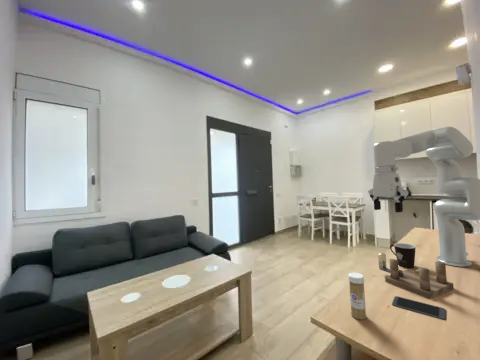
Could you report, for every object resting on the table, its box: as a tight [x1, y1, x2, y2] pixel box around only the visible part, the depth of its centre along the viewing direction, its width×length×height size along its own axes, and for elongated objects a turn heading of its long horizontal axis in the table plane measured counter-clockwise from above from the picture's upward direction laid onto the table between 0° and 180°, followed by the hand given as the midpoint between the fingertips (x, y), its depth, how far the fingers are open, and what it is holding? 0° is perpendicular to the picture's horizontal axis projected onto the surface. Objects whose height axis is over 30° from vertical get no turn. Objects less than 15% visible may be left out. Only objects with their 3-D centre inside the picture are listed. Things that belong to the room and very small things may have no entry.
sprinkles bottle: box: [347, 272, 367, 320], centre depth 72 cm, size 5×5×13 cm
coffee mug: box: [389, 242, 417, 269], centre depth 110 cm, size 12×9×10 cm
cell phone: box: [391, 296, 447, 321], centre depth 74 cm, size 7×14×1 cm, turn 47°
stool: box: [384, 258, 454, 300], centre depth 89 cm, size 16×16×10 cm
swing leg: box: [377, 252, 404, 277], centre depth 97 cm, size 10×3×7 cm, turn 23°
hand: (387, 210), depth 93 cm, fingers open, 9 cm apart
